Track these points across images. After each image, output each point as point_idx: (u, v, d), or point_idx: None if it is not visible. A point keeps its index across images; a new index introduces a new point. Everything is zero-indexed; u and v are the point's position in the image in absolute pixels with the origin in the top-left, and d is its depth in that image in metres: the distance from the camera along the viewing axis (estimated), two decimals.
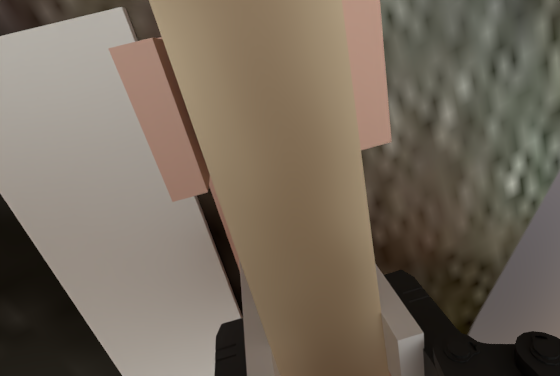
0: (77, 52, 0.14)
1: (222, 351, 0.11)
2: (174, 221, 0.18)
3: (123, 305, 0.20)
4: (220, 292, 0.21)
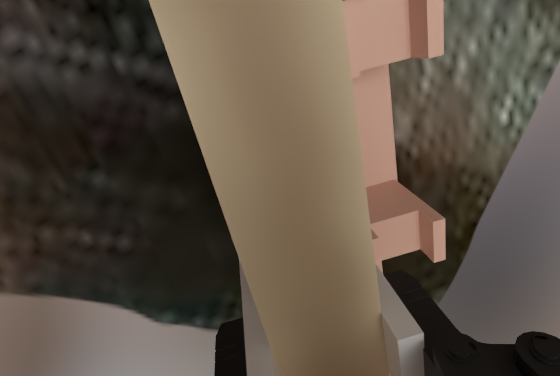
0: None
1: (222, 351, 0.11)
2: None
3: None
4: None
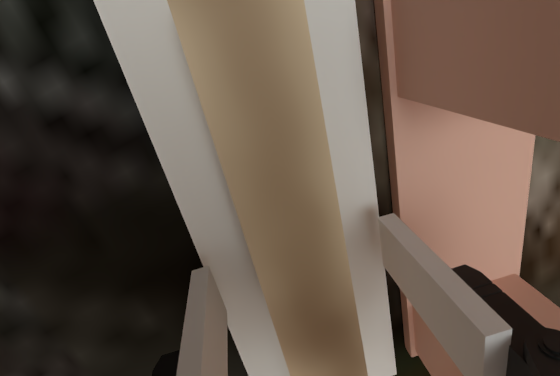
0: None
1: None
2: (346, 206, 0.16)
3: None
4: (376, 289, 0.18)
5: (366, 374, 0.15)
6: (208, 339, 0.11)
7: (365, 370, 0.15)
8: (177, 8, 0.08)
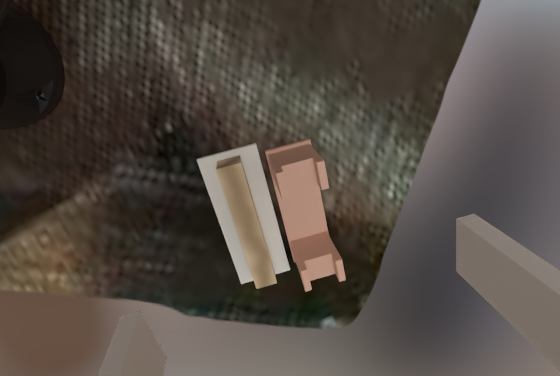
0: (241, 156, 0.48)
1: None
2: (263, 208, 0.52)
3: None
4: (276, 235, 0.54)
5: (268, 258, 0.52)
6: None
7: (268, 256, 0.52)
8: (218, 171, 0.45)
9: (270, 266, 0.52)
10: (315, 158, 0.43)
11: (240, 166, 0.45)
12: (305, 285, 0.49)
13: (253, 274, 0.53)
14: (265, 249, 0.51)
